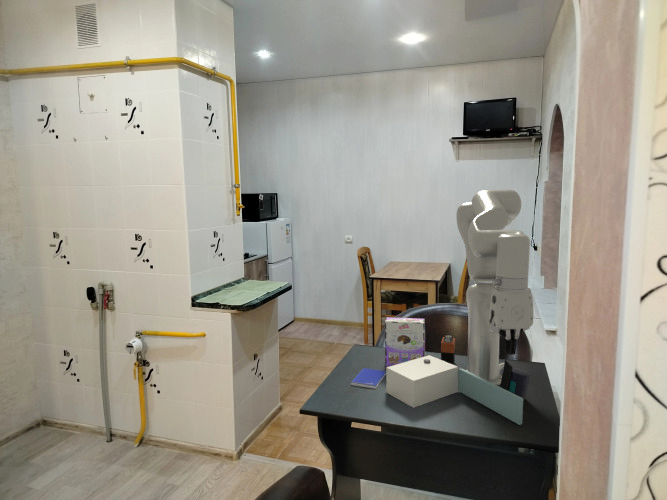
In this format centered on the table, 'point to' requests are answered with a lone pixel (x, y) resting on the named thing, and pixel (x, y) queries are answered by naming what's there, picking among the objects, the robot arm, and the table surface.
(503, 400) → the side door
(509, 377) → the speaker
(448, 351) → the battery
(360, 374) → the hard drive
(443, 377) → the white knobbed box
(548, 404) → the table surface
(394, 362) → the candy box
